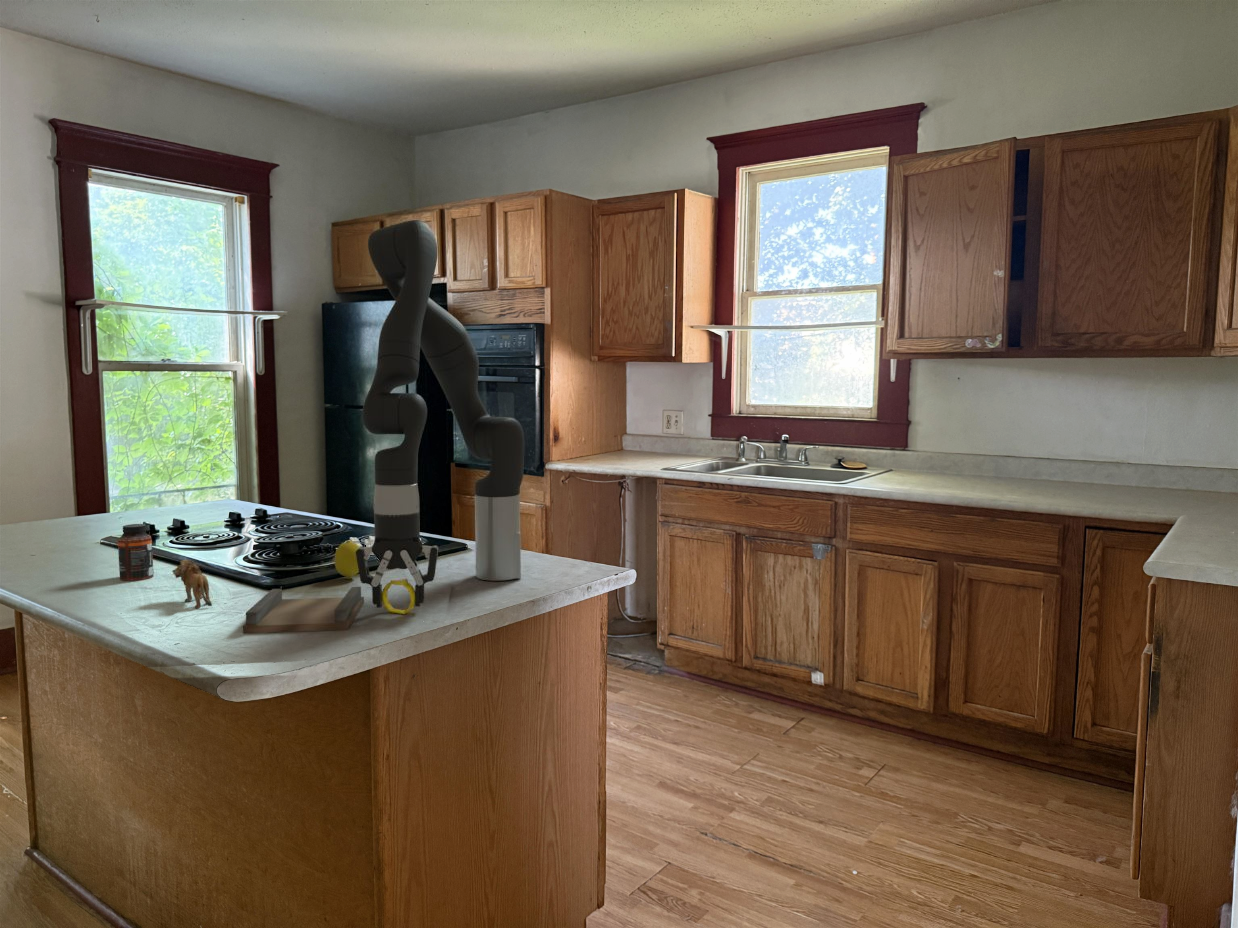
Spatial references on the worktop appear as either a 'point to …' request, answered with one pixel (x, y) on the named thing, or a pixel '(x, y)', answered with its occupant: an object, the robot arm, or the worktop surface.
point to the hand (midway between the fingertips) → (398, 605)
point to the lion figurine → (193, 582)
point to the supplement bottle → (135, 553)
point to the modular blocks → (368, 542)
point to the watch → (405, 583)
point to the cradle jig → (303, 613)
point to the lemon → (347, 559)
